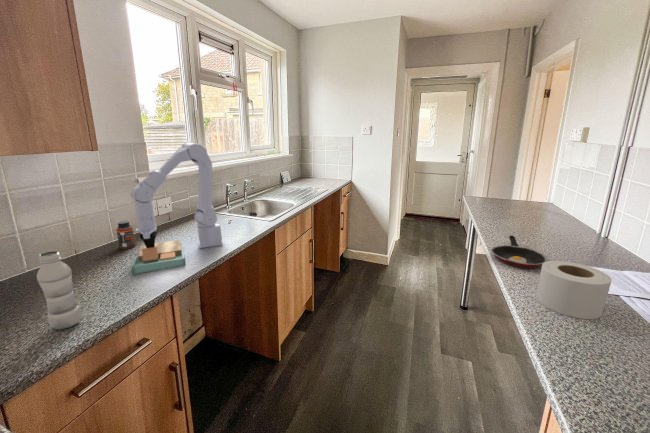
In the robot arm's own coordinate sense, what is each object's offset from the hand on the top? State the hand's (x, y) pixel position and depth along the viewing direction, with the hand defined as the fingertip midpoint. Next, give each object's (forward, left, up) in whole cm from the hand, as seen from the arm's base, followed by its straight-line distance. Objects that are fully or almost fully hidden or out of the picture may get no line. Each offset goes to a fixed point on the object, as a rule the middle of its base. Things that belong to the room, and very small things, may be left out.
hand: (151, 250), depth 118 cm
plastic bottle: (+17, +39, -4) cm, 43 cm away
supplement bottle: (+10, -19, -4) cm, 22 cm away
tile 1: (0, +3, 0) cm, 3 cm away
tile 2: (-6, +5, -2) cm, 8 cm away
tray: (-3, +7, -3) cm, 9 cm away
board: (-3, -5, -3) cm, 7 cm away
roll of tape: (-112, +90, -4) cm, 143 cm away
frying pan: (-134, +60, -4) cm, 146 cm away
